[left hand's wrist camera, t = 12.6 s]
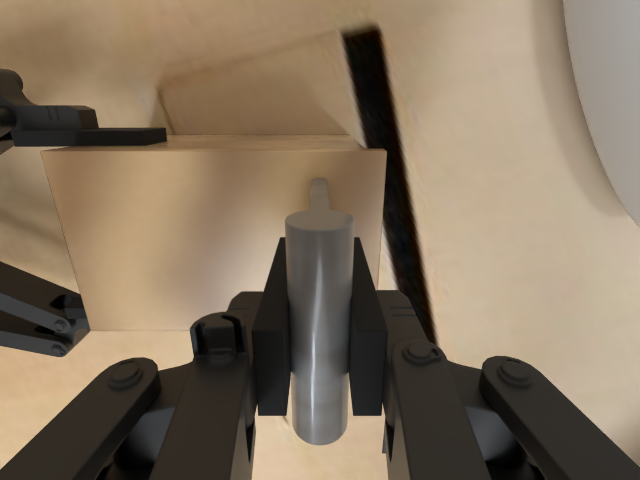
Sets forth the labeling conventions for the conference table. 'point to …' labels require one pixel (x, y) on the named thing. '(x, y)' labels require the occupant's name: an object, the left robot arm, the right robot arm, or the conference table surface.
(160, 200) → the lid
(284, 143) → the chest
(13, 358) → the conference table surface
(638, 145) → the projector
